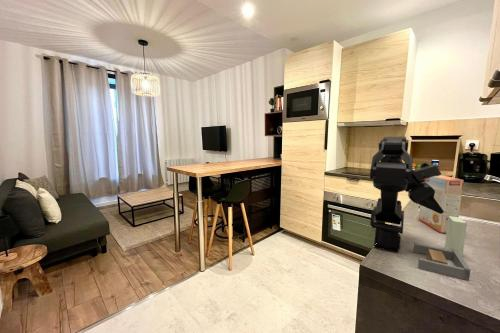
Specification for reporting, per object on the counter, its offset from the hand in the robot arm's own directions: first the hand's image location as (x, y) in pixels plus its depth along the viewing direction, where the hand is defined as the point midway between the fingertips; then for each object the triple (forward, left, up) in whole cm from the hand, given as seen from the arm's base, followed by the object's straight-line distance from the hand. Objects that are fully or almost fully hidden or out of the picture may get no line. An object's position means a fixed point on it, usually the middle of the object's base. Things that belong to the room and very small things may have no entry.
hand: (438, 208), depth 66 cm
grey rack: (0, -10, -14) cm, 17 cm away
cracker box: (+5, +24, -14) cm, 28 cm away
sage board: (+4, 0, -14) cm, 14 cm away
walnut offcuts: (-1, -11, -14) cm, 18 cm away
